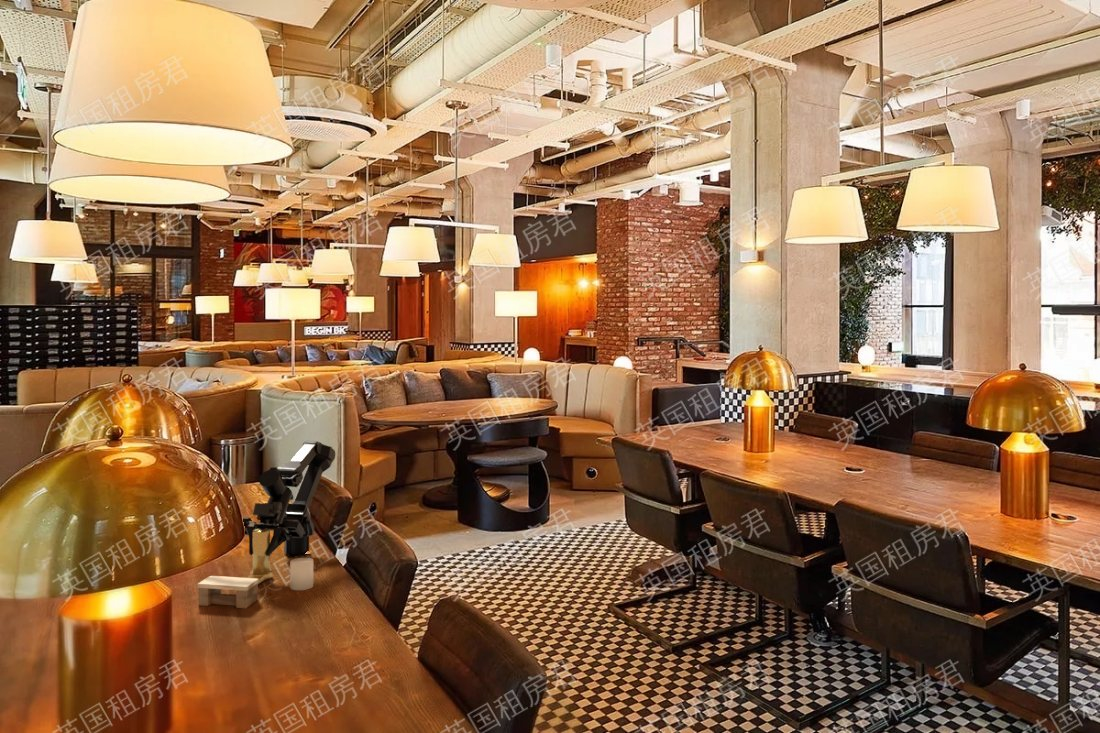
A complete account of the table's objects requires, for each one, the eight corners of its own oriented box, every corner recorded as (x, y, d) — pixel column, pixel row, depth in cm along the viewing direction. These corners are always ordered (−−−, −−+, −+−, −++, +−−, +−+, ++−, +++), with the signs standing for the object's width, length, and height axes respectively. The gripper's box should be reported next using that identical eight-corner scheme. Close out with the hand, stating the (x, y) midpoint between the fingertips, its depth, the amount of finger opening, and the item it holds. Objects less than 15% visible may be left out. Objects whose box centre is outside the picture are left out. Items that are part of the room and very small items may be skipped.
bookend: (256, 572, 212) (256, 527, 211) (276, 573, 211) (276, 528, 210) (235, 586, 201) (235, 539, 200) (256, 588, 200) (256, 540, 199)
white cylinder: (309, 581, 208) (309, 556, 208) (316, 587, 203) (316, 562, 203) (287, 584, 205) (287, 559, 204) (293, 591, 200) (293, 566, 199)
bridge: (210, 596, 195) (210, 575, 195) (258, 599, 194) (258, 578, 193) (197, 605, 189) (197, 583, 189) (246, 608, 188) (246, 586, 188)
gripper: (236, 488, 212) (215, 538, 202) (299, 492, 210) (281, 542, 200) (250, 509, 220) (230, 558, 210) (311, 512, 218) (294, 562, 208)
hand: (258, 554), depth 207 cm, fingers closed on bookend, 4 cm apart
